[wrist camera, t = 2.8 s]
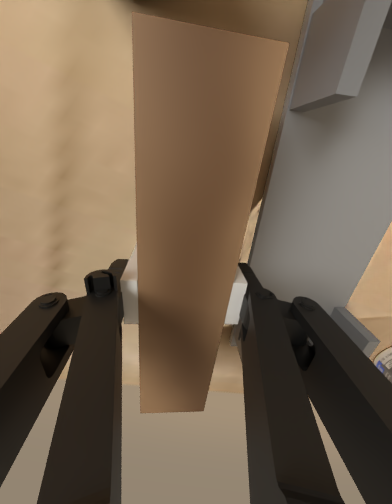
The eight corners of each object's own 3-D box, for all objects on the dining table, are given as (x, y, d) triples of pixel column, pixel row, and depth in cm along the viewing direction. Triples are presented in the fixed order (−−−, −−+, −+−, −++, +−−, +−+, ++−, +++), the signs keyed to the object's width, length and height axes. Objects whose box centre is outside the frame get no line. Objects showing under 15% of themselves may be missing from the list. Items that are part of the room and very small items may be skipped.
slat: (151, 332, 20) (140, 413, 14) (156, 85, 12) (131, 11, 5) (195, 333, 21) (203, 411, 15) (232, 97, 12) (289, 42, 6)
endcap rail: (229, 341, 22) (241, 386, 18) (313, -22, 10) (406, -139, 6) (320, 340, 23) (352, 382, 19) (490, 14, 11) (670, -63, 7)
